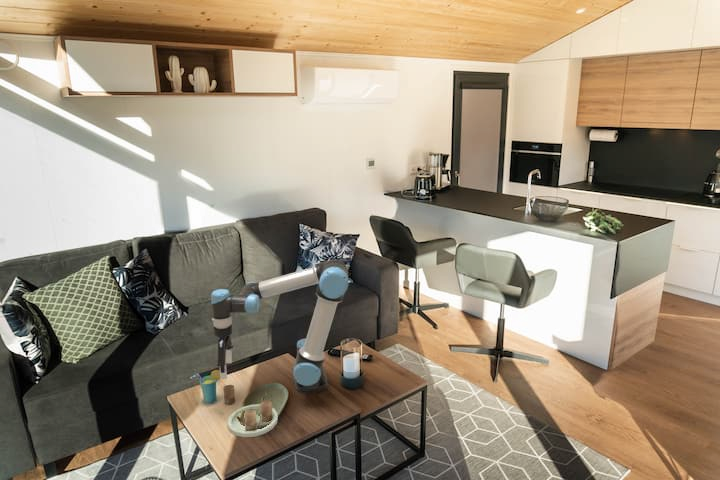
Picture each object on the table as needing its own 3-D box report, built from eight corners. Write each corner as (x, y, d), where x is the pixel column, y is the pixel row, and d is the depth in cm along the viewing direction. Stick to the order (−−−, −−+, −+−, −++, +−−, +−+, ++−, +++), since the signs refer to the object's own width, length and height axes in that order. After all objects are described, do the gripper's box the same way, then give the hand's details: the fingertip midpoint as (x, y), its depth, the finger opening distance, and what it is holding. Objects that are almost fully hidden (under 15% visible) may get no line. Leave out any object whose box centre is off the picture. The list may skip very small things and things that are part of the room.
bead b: (257, 426, 201) (256, 409, 199) (256, 433, 197) (255, 415, 195) (246, 427, 201) (244, 410, 199) (244, 434, 196) (243, 416, 194)
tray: (279, 407, 215) (278, 402, 214) (275, 436, 196) (275, 431, 195) (232, 411, 213) (232, 406, 213) (224, 440, 194) (224, 435, 193)
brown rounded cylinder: (273, 417, 207) (272, 400, 205) (272, 423, 203) (271, 406, 201) (262, 417, 207) (260, 400, 205) (261, 424, 202) (259, 407, 200)
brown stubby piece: (236, 400, 221) (234, 384, 219) (234, 406, 217) (233, 390, 215) (225, 401, 221) (224, 385, 219) (223, 406, 216) (222, 390, 214)
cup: (196, 411, 214) (192, 380, 210) (190, 403, 220) (186, 373, 216) (226, 399, 222) (224, 369, 218) (219, 392, 228) (217, 362, 224)
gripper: (219, 314, 221) (222, 357, 226) (207, 338, 197) (212, 386, 202) (236, 313, 222) (239, 356, 227) (226, 337, 198) (230, 385, 203)
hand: (226, 370), depth 215 cm, fingers open, 13 cm apart
